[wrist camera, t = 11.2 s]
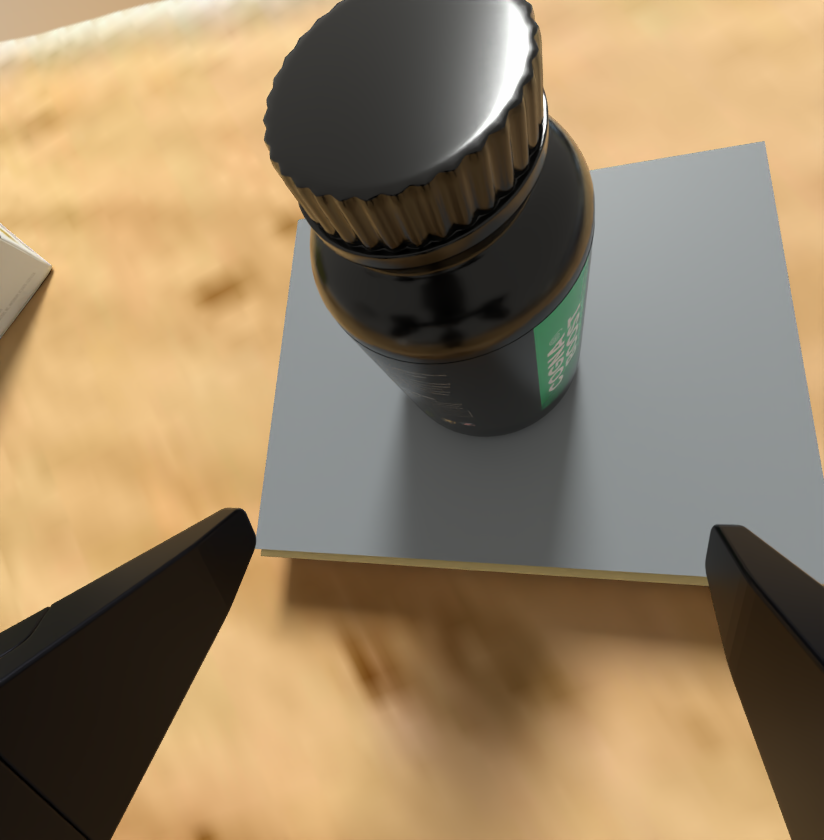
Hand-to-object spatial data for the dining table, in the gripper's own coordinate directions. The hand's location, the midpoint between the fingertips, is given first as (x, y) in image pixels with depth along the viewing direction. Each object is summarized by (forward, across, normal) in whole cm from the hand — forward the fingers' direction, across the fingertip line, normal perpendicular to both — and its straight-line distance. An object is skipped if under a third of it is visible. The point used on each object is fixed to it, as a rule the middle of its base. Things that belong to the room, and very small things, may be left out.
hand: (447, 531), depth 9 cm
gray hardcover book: (+13, 0, +3) cm, 13 cm away
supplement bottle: (+11, 0, +1) cm, 11 cm away
